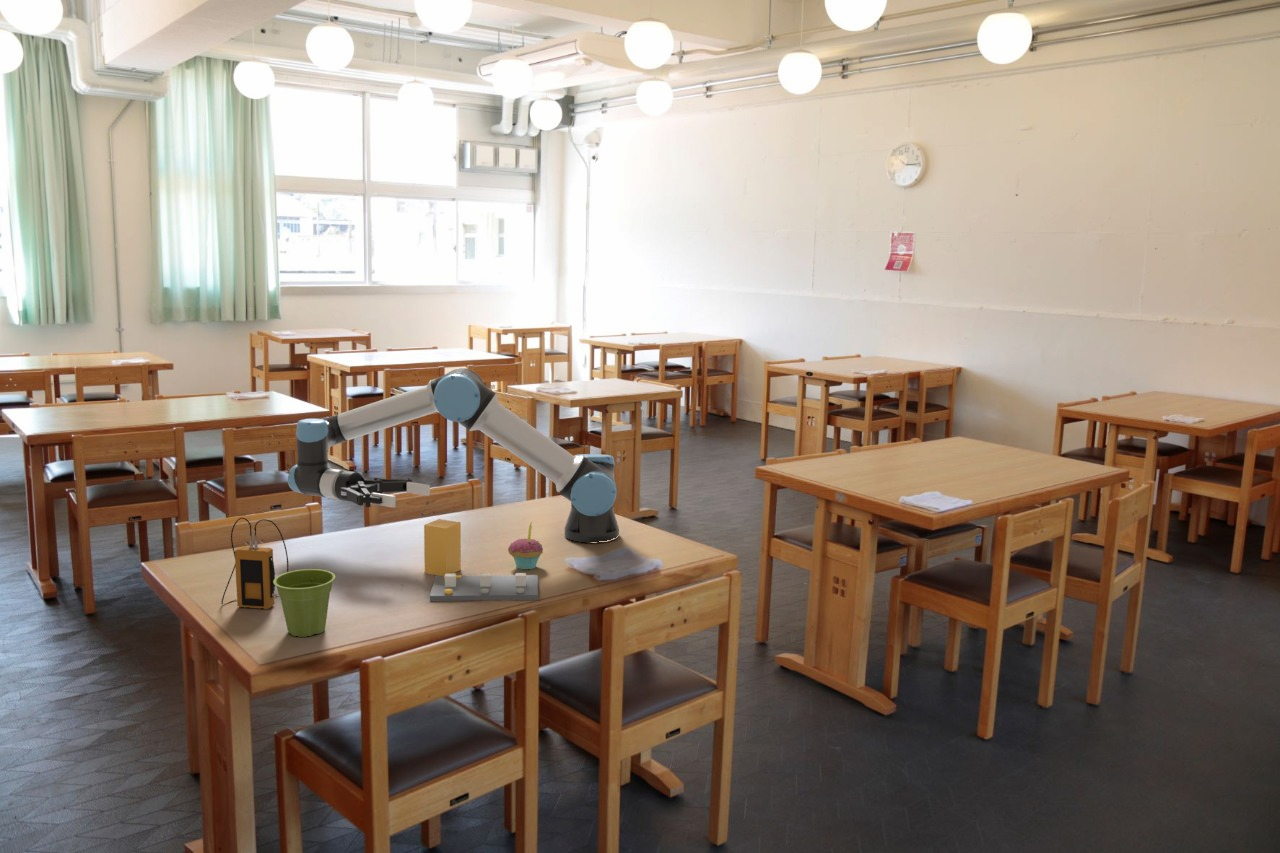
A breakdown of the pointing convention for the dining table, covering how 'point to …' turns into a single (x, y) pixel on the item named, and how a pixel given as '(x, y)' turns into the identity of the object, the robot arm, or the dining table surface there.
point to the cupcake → (526, 551)
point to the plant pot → (305, 600)
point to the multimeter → (254, 573)
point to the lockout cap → (442, 547)
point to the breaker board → (485, 587)
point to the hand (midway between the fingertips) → (412, 495)
